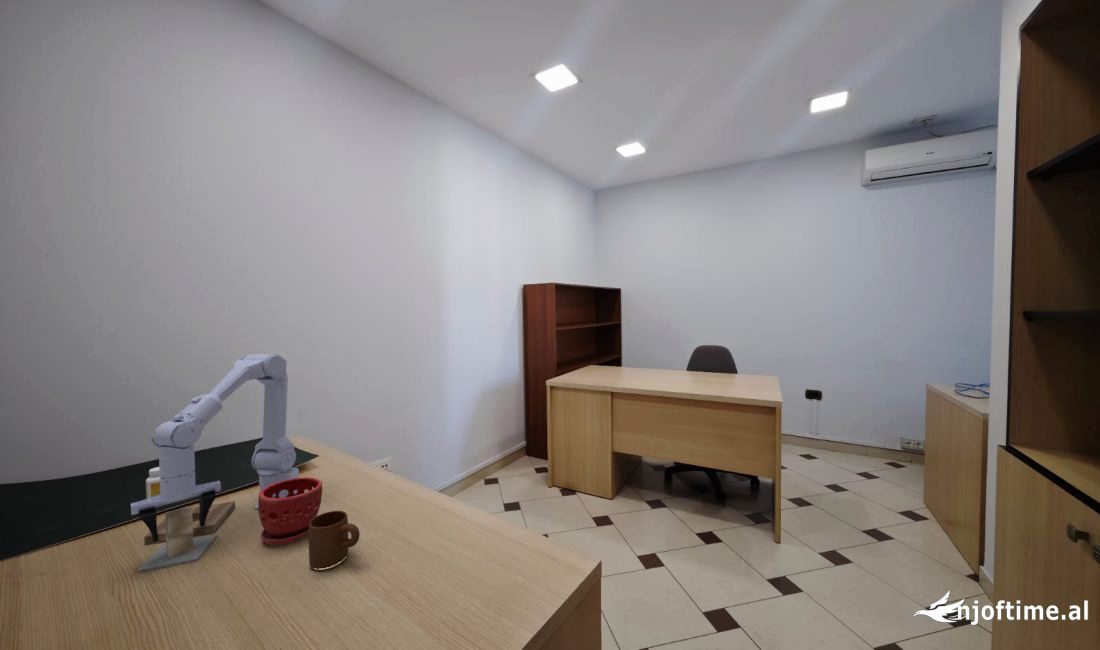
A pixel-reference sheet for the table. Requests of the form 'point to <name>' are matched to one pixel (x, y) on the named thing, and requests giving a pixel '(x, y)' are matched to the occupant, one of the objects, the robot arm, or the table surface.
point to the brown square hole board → (212, 522)
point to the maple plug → (179, 531)
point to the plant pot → (288, 509)
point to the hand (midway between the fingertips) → (179, 532)
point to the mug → (330, 538)
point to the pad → (162, 559)
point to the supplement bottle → (153, 483)
